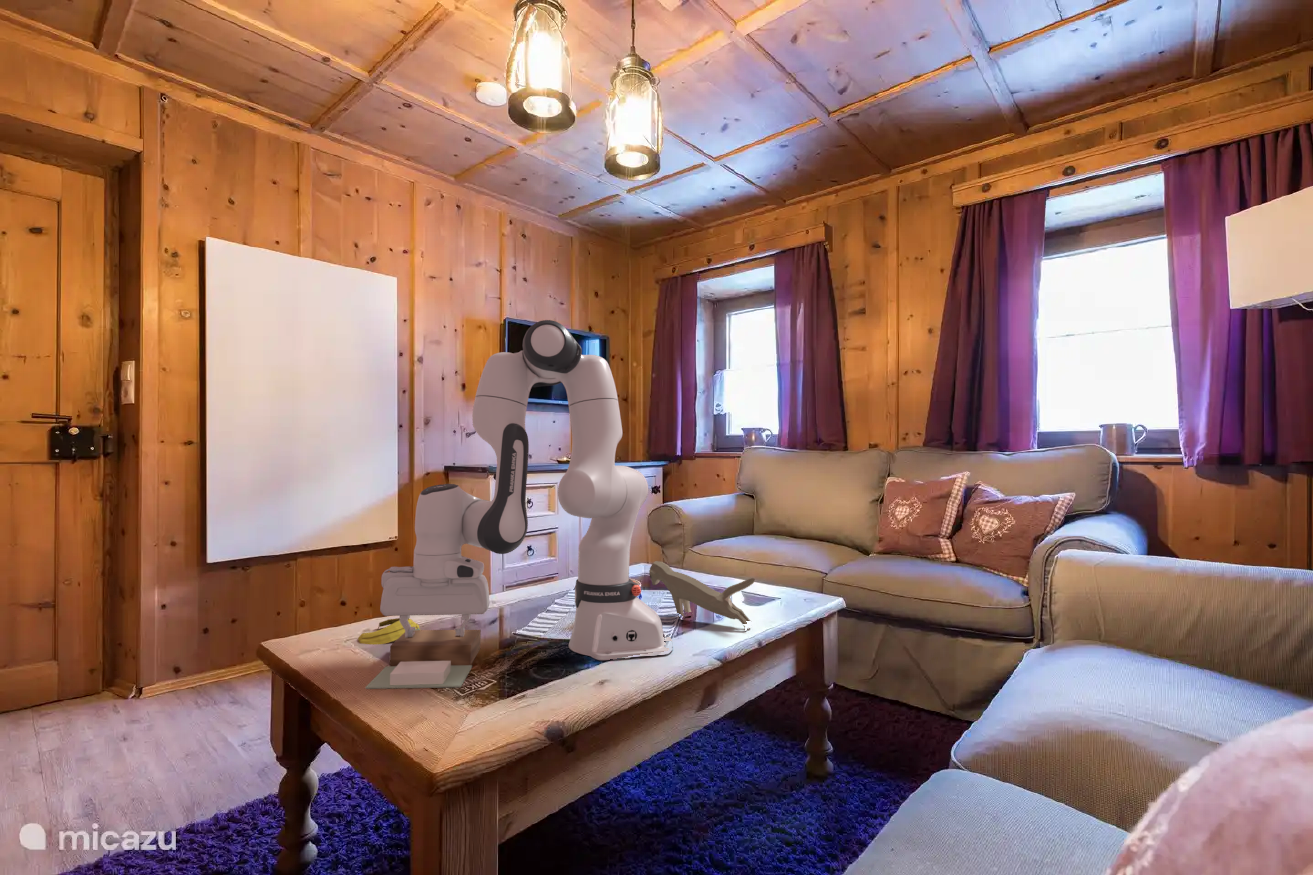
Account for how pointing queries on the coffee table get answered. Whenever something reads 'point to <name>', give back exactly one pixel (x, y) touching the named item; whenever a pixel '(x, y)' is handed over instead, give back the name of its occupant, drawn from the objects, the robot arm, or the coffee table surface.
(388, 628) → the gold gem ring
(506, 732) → the coffee table surface
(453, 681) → the mat
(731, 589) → the sculpture
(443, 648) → the wooden block
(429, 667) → the tile
